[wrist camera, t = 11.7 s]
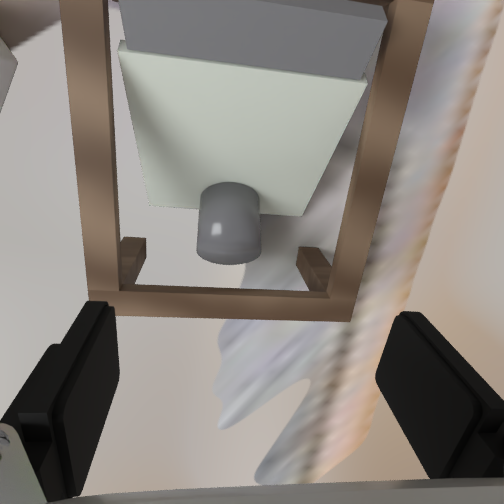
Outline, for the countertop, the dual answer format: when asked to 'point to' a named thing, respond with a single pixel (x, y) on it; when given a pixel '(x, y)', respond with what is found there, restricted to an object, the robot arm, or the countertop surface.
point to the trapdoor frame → (309, 259)
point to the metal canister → (229, 224)
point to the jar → (6, 70)
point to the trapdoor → (243, 92)
